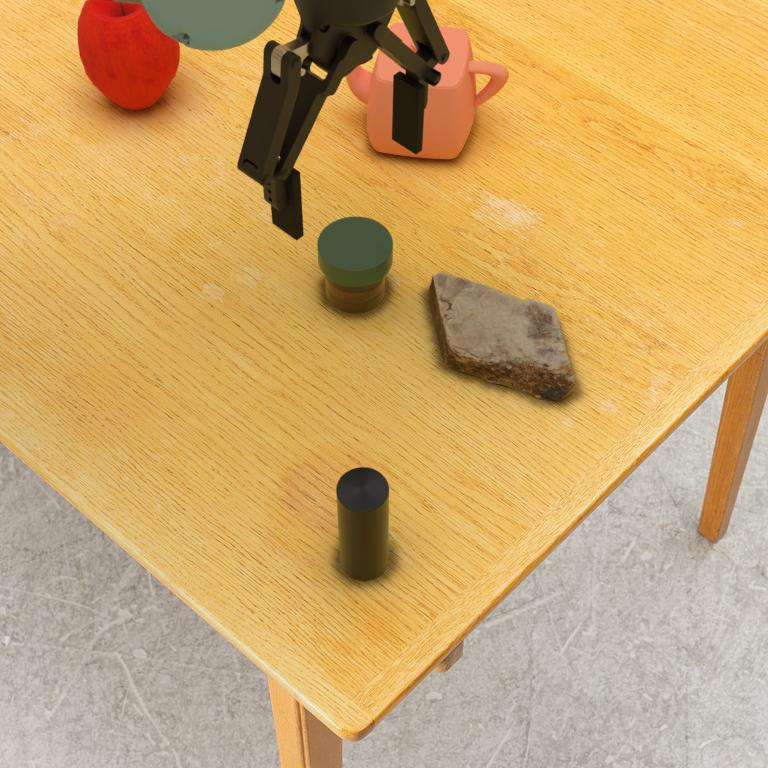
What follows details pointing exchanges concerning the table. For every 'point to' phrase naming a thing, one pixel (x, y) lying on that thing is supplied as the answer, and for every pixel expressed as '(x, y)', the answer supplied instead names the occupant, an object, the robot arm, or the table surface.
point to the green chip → (355, 251)
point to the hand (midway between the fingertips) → (349, 186)
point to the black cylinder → (363, 523)
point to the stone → (500, 337)
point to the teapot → (429, 96)
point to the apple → (126, 53)
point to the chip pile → (355, 296)
